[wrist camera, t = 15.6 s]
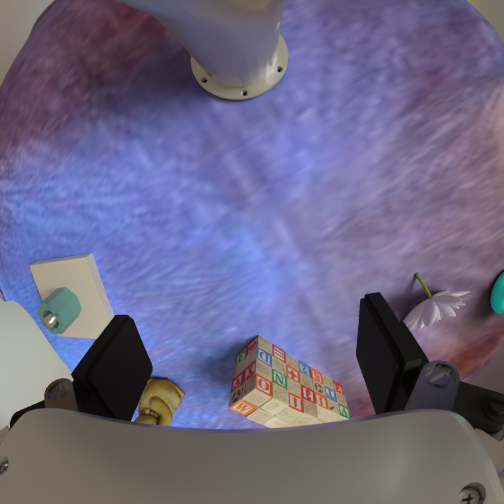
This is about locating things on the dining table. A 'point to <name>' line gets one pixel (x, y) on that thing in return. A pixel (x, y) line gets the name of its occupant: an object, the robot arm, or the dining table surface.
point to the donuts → (498, 295)
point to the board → (75, 292)
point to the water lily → (433, 307)
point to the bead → (60, 309)
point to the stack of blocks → (283, 389)
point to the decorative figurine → (159, 402)
